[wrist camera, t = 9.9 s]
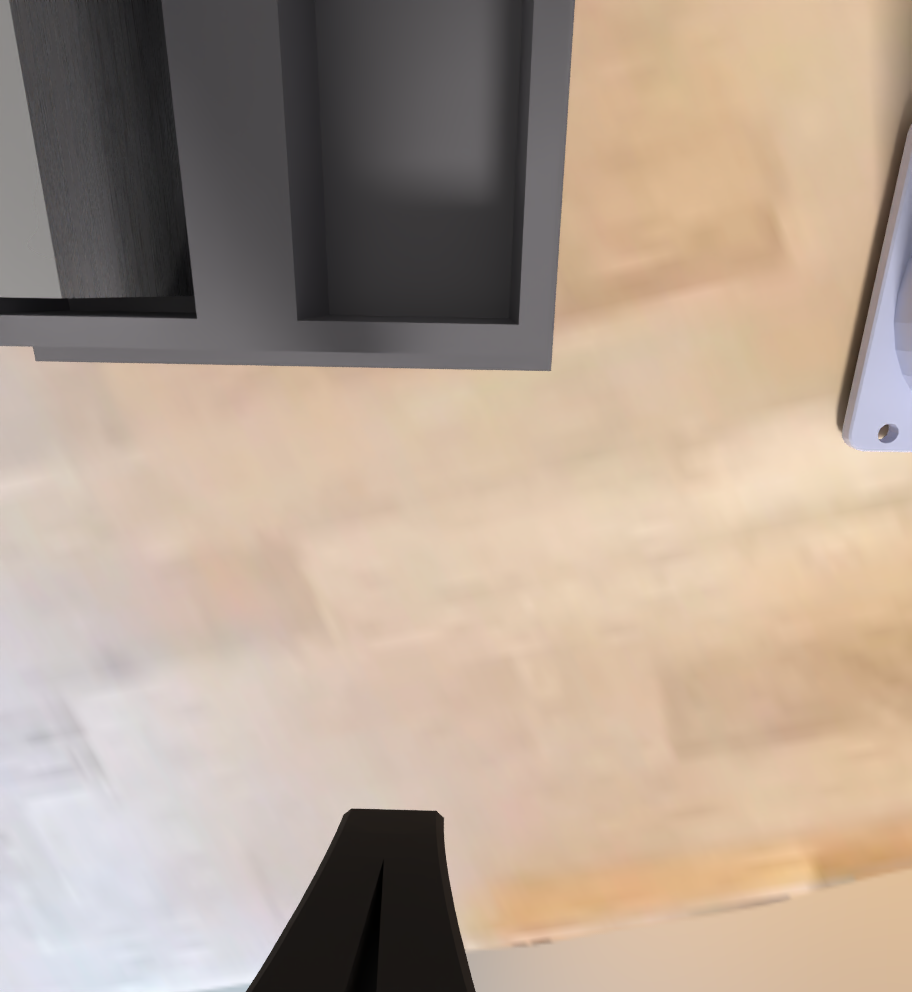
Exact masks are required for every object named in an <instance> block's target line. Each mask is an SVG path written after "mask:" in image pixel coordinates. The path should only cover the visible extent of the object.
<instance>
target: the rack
mask: <svg viewBox="0 0 912 992" xmlns="http://www.w3.org/2000/svg"><path fill="white" fill-rule="evenodd" d="M161 2H162V11H163V20H164V28H165V37H166V46H167V55H168V64H169V73H170V82H171V91H172V100H173V109H174V118H175V127H176V135H177V144H178V153H179V162H180V171H181V180H182V189H183V198H184V207H185V216H186V225H187V234H188V243H189V251H190V260H191V269H192V278H193V287H194V296H161V297H109V298H11V297H0V346H33V349H34V354H35V360H36V361H59V362H111V363H163V364H215V365H267V366H319V367H371V368H422V369H474V370H526V371H551V361H552V345H553V330H554V314H555V299H556V284H557V268H558V253H559V237H560V222H561V207H562V191H563V176H564V160H565V145H566V130H567V114H568V99H569V83H570V68H571V53H572V37H573V22H574V7H575V0H161Z"/></svg>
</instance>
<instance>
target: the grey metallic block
mask: <svg viewBox="0 0 912 992" xmlns="http://www.w3.org/2000/svg"><path fill="white" fill-rule="evenodd" d="M161 296H194V287H193V278H192V269H191V260H190V251H189V243H188V234H187V225H186V216H185V207H184V198H183V189H182V180H181V171H180V162H179V153H178V144H177V135H176V127H175V118H174V109H173V100H172V91H171V82H170V73H169V64H168V55H167V46H166V37H165V28H164V20H163V11H162V2H161V0H0V297H11V298H109V297H161Z"/></svg>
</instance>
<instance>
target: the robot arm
mask: <svg viewBox="0 0 912 992" xmlns="http://www.w3.org/2000/svg"><path fill="white" fill-rule="evenodd" d="M886 424H888V425H889V431H888V433H887V435H886V436H885V437H883V438H882V439H878V432H879V430H880V428H882V427H883V426H884V425H886ZM842 438H843V440H844V442H845V443H846V444H847V445H848V446H850V447H852V448H854V449H856V450H861V451H880V452H912V124H911V126H910V128H909V131H908V133H907V138H906V142H905V147H904V151H903V156H902V160H901V165H900V169H899V174H898V179H897V183H896V188H895V192H894V197H893V201H892V206H891V210H890V215H889V219H888V224H887V229H886V233H885V238H884V242H883V247H882V251H881V256H880V260H879V265H878V270H877V274H876V279H875V283H874V288H873V292H872V297H871V301H870V306H869V310H868V315H867V320H866V324H865V329H864V333H863V338H862V342H861V347H860V351H859V356H858V360H857V365H856V370H855V374H854V379H853V383H852V388H851V392H850V397H849V401H848V406H847V411H846V415H845V420H844V424H843V429H842ZM246 992H476V991H475V988H474V984H473V981H472V977H471V973H470V969H469V966H468V961H467V957H466V953H465V950H464V946H463V942H462V938H461V934H460V930H459V926H458V921H457V917H456V912H455V908H454V902H453V897H452V892H451V887H450V881H449V875H448V869H447V862H446V854H445V844H444V818H443V817H442V816H441V815H440V814H439V813H438V812H437V811H420V810H383V809H350V810H349V811H348V812H347V813H345V814H344V815H343V818H342V820H341V822H340V825H339V827H338V829H337V832H336V834H335V836H334V838H333V840H332V842H331V844H330V846H329V848H328V850H327V852H326V854H325V856H324V858H323V860H322V862H321V864H320V866H319V868H318V870H317V872H316V874H315V876H314V878H313V879H312V881H311V883H310V885H309V887H308V889H307V890H306V892H305V894H304V896H303V898H302V900H301V901H300V903H299V905H298V907H297V908H296V910H295V912H294V913H293V915H292V917H291V919H290V920H289V922H288V924H287V925H286V927H285V929H284V930H283V932H282V934H281V936H280V937H279V939H278V941H277V942H276V944H275V946H274V947H273V949H272V951H271V953H270V954H269V956H268V958H267V959H266V961H265V963H264V964H263V966H262V967H261V969H260V971H259V972H258V974H257V975H256V977H255V979H254V980H253V982H252V983H251V985H250V986H249V988H248V989H247V991H246Z"/></svg>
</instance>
